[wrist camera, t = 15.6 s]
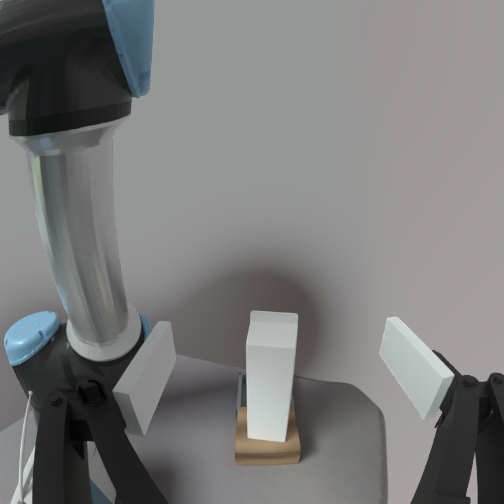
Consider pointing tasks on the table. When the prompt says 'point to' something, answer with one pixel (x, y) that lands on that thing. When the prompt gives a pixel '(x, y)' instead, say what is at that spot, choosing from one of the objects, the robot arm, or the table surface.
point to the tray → (243, 393)
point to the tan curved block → (266, 444)
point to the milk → (270, 373)
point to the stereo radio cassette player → (98, 475)
